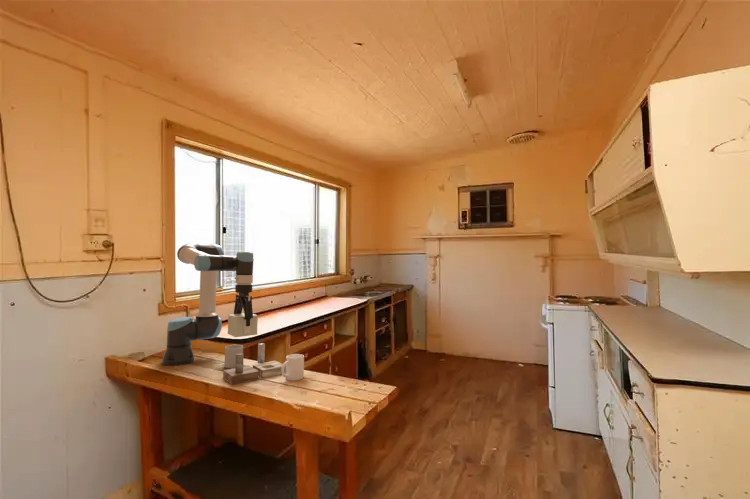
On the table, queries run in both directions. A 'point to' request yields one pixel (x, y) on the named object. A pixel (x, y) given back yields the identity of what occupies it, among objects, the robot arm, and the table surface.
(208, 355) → the table surface
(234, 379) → the board
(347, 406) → the table surface
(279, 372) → the square block with hole
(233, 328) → the block
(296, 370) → the mug
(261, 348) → the pin
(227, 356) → the mug
